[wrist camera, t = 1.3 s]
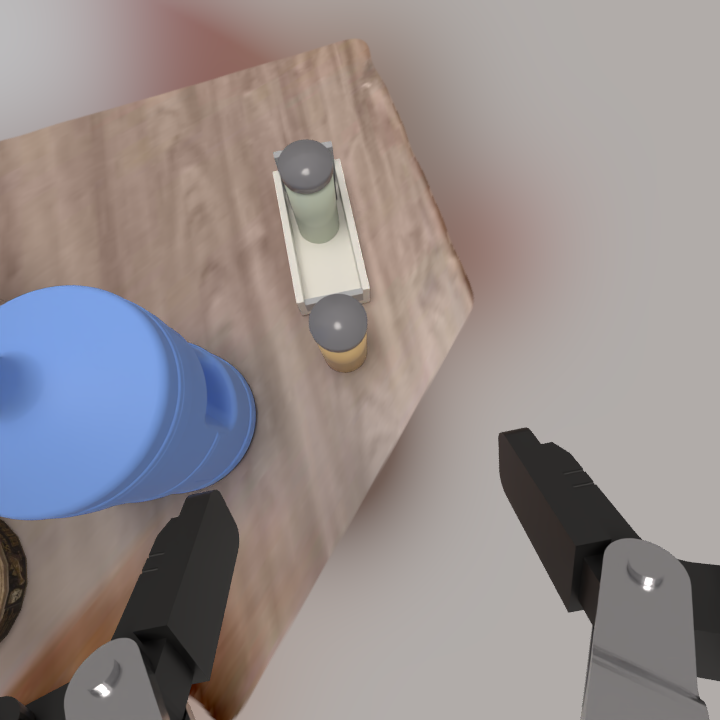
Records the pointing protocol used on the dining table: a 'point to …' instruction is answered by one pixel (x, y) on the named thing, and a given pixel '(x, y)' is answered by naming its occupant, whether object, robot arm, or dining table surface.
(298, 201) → the sage jar
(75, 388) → the water jug
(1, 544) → the brown round flat disc
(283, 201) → the jar lane
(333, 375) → the dining table surface
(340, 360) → the honey jar
